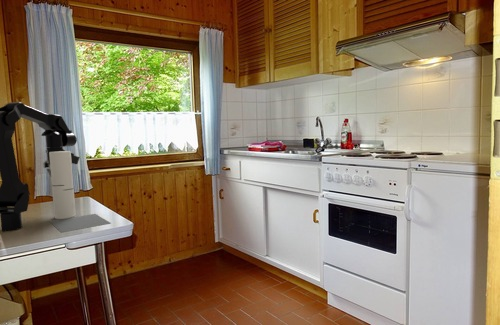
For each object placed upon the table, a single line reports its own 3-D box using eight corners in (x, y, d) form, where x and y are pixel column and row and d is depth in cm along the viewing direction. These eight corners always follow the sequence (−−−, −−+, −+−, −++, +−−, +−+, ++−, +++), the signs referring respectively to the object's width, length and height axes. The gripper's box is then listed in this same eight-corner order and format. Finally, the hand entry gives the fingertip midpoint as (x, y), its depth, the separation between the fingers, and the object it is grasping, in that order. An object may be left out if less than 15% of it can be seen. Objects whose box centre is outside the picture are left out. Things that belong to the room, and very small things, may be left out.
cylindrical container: (56, 216, 137) (50, 151, 135) (76, 214, 140) (71, 150, 137) (53, 220, 130) (47, 152, 128) (74, 218, 133) (69, 151, 131)
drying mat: (111, 224, 122) (111, 223, 122) (61, 233, 112) (61, 232, 112) (94, 214, 137) (94, 213, 137) (49, 222, 128) (49, 221, 128)
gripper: (82, 146, 138) (85, 186, 139) (71, 146, 153) (74, 182, 154) (50, 148, 131) (53, 189, 133) (41, 147, 146) (44, 185, 147)
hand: (57, 186), depth 142 cm, fingers closed
